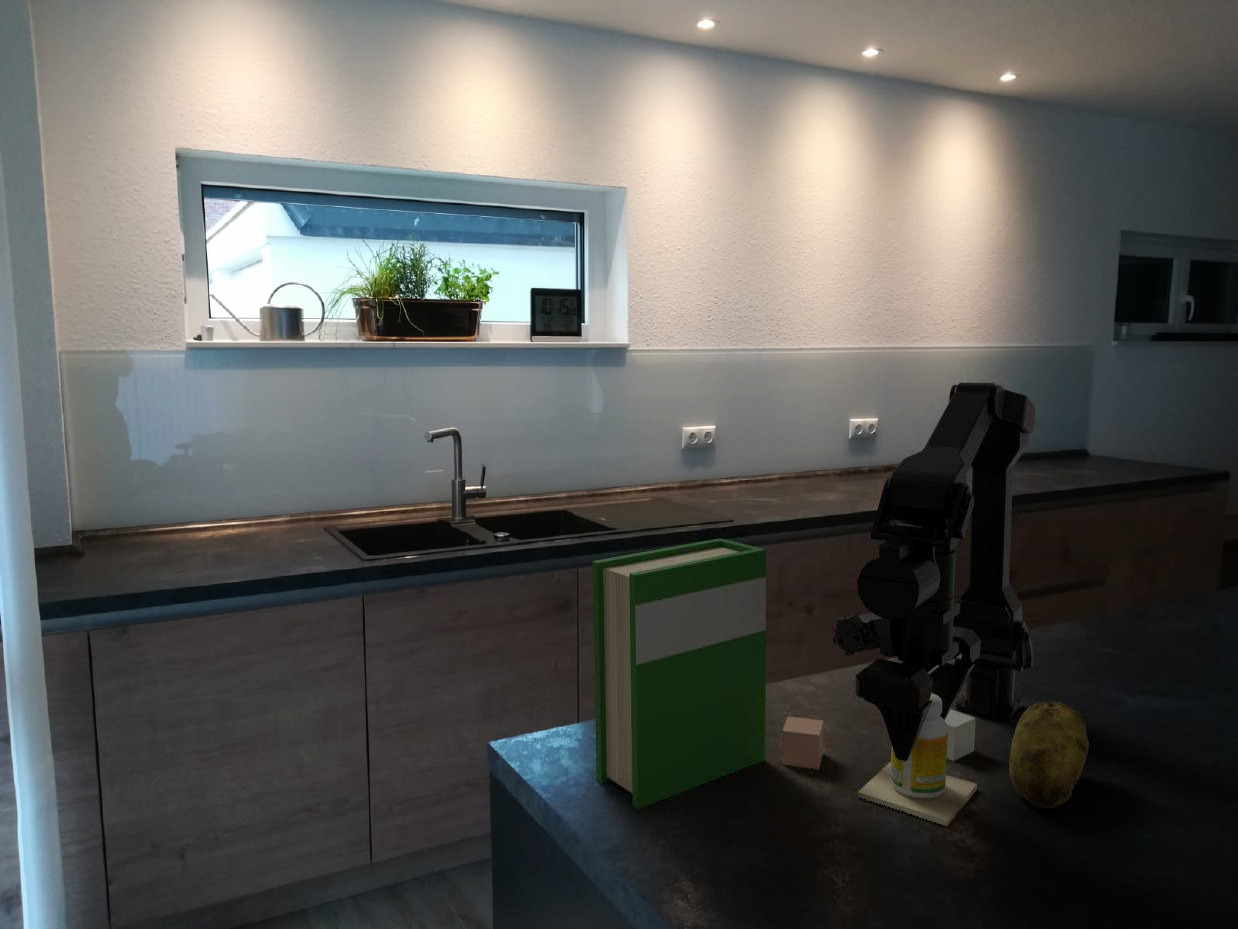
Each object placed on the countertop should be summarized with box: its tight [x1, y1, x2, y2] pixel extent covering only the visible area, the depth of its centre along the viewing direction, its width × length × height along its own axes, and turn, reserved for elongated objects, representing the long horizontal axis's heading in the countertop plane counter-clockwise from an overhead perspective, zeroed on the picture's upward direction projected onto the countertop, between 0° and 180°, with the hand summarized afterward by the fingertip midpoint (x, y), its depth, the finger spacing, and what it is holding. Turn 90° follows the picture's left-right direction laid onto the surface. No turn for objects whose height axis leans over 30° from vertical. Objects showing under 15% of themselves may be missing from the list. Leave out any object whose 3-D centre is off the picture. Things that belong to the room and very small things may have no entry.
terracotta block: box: [781, 716, 824, 770], centre depth 99 cm, size 4×4×4 cm
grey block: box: [945, 708, 976, 762], centre depth 101 cm, size 4×4×4 cm
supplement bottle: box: [890, 693, 948, 799], centre depth 91 cm, size 5×5×10 cm
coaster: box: [857, 761, 978, 827], centre depth 91 cm, size 9×9×1 cm
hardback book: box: [592, 538, 767, 810], centre depth 96 cm, size 18×7×24 cm, turn 125°
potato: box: [1008, 701, 1090, 809], centre depth 92 cm, size 8×13×8 cm, turn 132°
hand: (918, 743), depth 90 cm, fingers open, 9 cm apart
